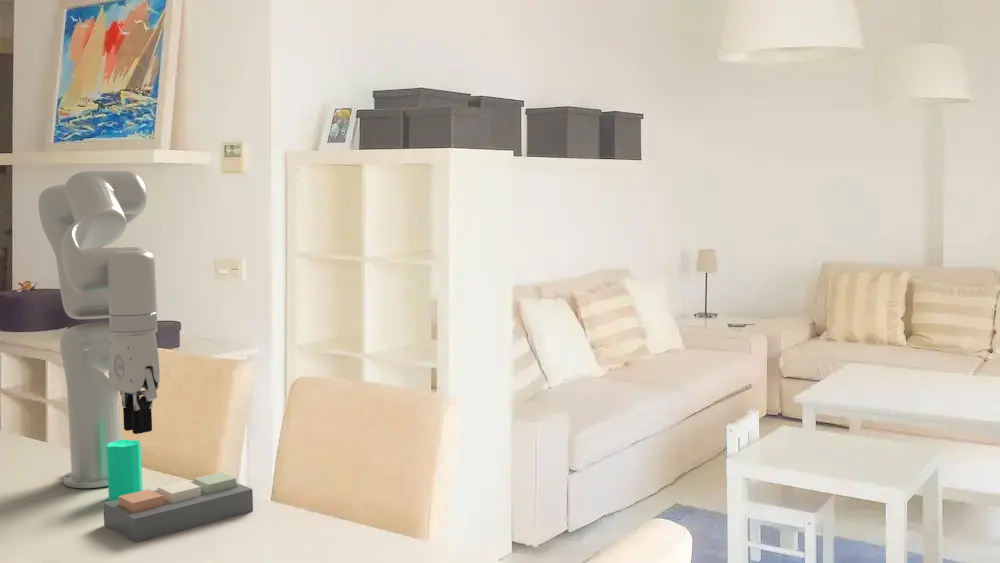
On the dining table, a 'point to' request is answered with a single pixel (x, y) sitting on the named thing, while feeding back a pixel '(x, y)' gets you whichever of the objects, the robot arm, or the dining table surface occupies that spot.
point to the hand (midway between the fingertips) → (138, 429)
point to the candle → (124, 468)
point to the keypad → (177, 513)
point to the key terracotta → (140, 501)
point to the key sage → (215, 483)
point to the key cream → (179, 491)
